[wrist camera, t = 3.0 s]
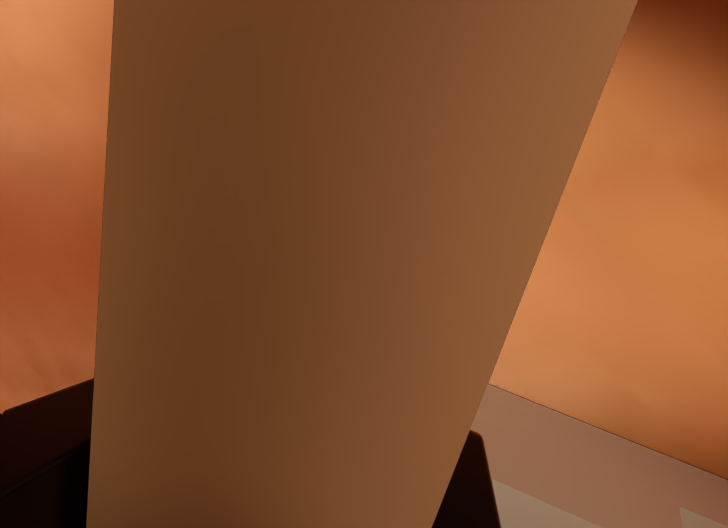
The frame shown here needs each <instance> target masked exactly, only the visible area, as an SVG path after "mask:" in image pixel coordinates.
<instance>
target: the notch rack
mask: <svg viewBox="0 0 728 528" xmlns="http://www.w3.org/2000/svg"><path fill="white" fill-rule="evenodd" d="M470 430H473V431H475V432H477V433H479V434H481V436H482V438H483V441H484V445H485V450H486V455H487V460H488V465H489V470H490V474H491V479H492V484H493V489H494V494H495V499H496V504H497V509H498V513H499V518H500V523H501V528H728V480H726V479H724V478H721V477H719V476H716V475H714V474H711V473H709V472H707V471H704V470H702V469H699V468H697V467H694V466H692V465H689V464H687V463H684V462H682V461H679V460H677V459H674V458H672V457H669V456H667V455H664V454H662V453H659V452H657V451H654V450H652V449H649V448H647V447H644V446H642V445H639V444H637V443H634V442H632V441H629V440H627V439H624V438H622V437H619V436H617V435H614V434H612V433H609V432H607V431H604V430H602V429H599V428H597V427H594V426H592V425H589V424H587V423H584V422H582V421H579V420H577V419H574V418H572V417H569V416H567V415H564V414H562V413H559V412H557V411H554V410H552V409H549V408H547V407H544V406H542V405H539V404H537V403H534V402H532V401H529V400H527V399H524V398H522V397H519V396H517V395H514V394H512V393H509V392H507V391H504V390H502V389H499V388H497V387H494V386H492V385H489V384H488V385H487V387H486V390H485V393H484V395H483V398H482V400H481V403H480V405H479V408H478V410H477V413H476V416H475V418H474V421H473V423H472V426H471V428H470Z"/></svg>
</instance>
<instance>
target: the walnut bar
mask: <svg viewBox="0 0 728 528" xmlns="http://www.w3.org/2000/svg"><path fill="white" fill-rule="evenodd" d="M637 2H638V0H114V16H113V35H112V54H111V73H110V91H109V110H108V129H107V148H106V166H105V185H104V204H103V223H102V241H101V260H100V279H99V298H98V316H97V335H96V354H95V373H94V391H93V410H92V429H91V448H90V466H89V485H88V504H87V523H86V528H432V525H433V523H434V520H435V518H436V515H437V513H438V510H439V508H440V505H441V502H442V500H443V497H444V495H445V492H446V490H447V487H448V485H449V482H450V479H451V477H452V474H453V472H454V469H455V467H456V464H457V462H458V459H459V456H460V454H461V451H462V449H463V446H464V444H465V441H466V439H467V436H468V433H469V431H470V428H471V426H472V423H473V421H474V418H475V416H476V413H477V410H478V408H479V405H480V403H481V400H482V398H483V395H484V393H485V390H486V387H487V385H488V382H489V380H490V377H491V375H492V372H493V370H494V367H495V364H496V362H497V359H498V357H499V354H500V352H501V349H502V347H503V344H504V341H505V339H506V336H507V334H508V331H509V329H510V326H511V324H512V321H513V318H514V316H515V313H516V311H517V308H518V306H519V303H520V301H521V298H522V295H523V293H524V290H525V288H526V285H527V283H528V280H529V278H530V275H531V272H532V270H533V267H534V265H535V262H536V260H537V257H538V255H539V252H540V249H541V247H542V244H543V242H544V239H545V237H546V234H547V232H548V229H549V226H550V224H551V221H552V219H553V216H554V214H555V211H556V209H557V206H558V203H559V201H560V198H561V196H562V193H563V191H564V188H565V186H566V183H567V180H568V178H569V175H570V173H571V170H572V168H573V165H574V163H575V160H576V157H577V155H578V152H579V150H580V147H581V145H582V142H583V140H584V137H585V134H586V132H587V129H588V127H589V124H590V122H591V119H592V117H593V114H594V111H595V109H596V106H597V104H598V101H599V99H600V96H601V94H602V91H603V88H604V86H605V83H606V81H607V78H608V76H609V73H610V71H611V68H612V65H613V63H614V60H615V58H616V55H617V53H618V50H619V48H620V45H621V42H622V40H623V37H624V35H625V32H626V30H627V27H628V25H629V22H630V19H631V17H632V14H633V12H634V9H635V7H636V4H637Z"/></svg>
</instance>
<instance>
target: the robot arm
mask: <svg viewBox="0 0 728 528" xmlns="http://www.w3.org/2000/svg"><path fill="white" fill-rule="evenodd" d="M93 391H94V378H93V379H90V380H87V381H85V382H82V383H79V384H76V385H74V386H71V387H68V388H65V389H63V390H60V391H57V392H54V393H52V394H49V395H46V396H43V397H41V398H38V399H35V400H32V401H30V402H27V403H24V404H21V405H19V406H16V407H13V408H10V409H8V410H5V411H4V412H3V414H1V413H0V528H86V523H87V504H88V485H89V466H90V448H91V429H92V410H93ZM432 528H501V523H500V518H499V513H498V509H497V504H496V499H495V494H494V489H493V484H492V479H491V474H490V470H489V465H488V460H487V455H486V450H485V445H484V441H483V438H482V436H481V434H479V433H477V432H475V431H473V430H470V431H469V433H468V436H467V439H466V441H465V444H464V446H463V449H462V451H461V454H460V456H459V459H458V462H457V464H456V467H455V469H454V472H453V474H452V477H451V479H450V482H449V485H448V487H447V490H446V492H445V495H444V497H443V500H442V502H441V505H440V508H439V510H438V513H437V515H436V518H435V520H434V523H433V525H432Z"/></svg>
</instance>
